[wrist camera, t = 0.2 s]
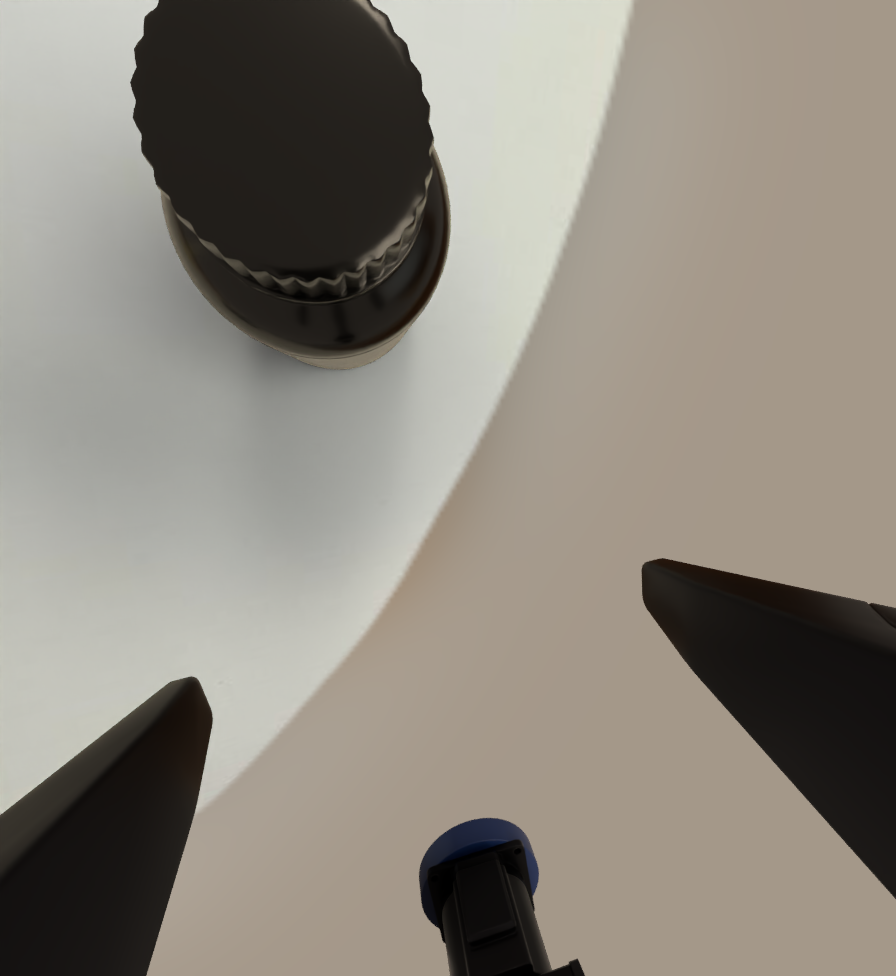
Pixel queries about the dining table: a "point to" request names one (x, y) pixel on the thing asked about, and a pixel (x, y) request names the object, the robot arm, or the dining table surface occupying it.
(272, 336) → the supplement bottle
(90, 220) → the dining table surface
